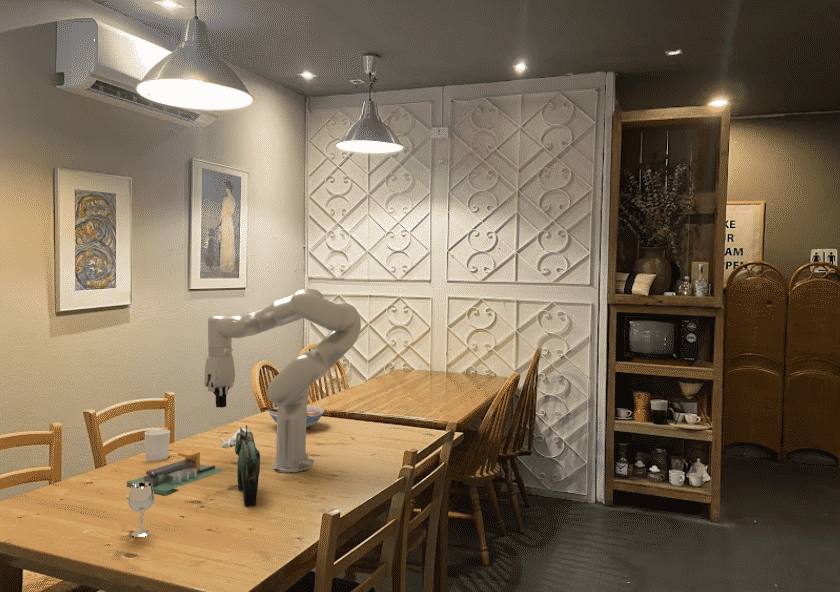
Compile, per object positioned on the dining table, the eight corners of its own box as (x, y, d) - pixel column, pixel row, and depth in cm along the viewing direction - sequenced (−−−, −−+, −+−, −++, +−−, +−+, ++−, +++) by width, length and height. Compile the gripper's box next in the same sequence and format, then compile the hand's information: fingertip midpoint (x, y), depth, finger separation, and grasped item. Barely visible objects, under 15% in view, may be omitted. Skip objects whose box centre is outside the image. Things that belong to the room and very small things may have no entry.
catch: (199, 471, 203) (199, 452, 203) (189, 474, 199) (189, 455, 199) (188, 468, 205) (188, 449, 205) (177, 472, 201) (177, 453, 201)
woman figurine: (260, 427, 251) (237, 441, 233) (260, 438, 251) (237, 453, 234) (233, 425, 253) (208, 439, 236) (233, 436, 254) (208, 450, 236)
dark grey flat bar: (195, 463, 202) (195, 460, 202) (154, 476, 188) (154, 473, 188) (186, 462, 204) (187, 459, 204) (145, 474, 190) (145, 471, 190)
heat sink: (199, 476, 198) (199, 469, 198) (163, 489, 186) (163, 480, 186) (170, 470, 203) (170, 462, 203) (133, 482, 191) (134, 473, 191)
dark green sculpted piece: (233, 486, 194) (234, 419, 193) (255, 484, 196) (256, 418, 195) (239, 509, 175) (240, 435, 175) (263, 506, 177) (265, 434, 177)
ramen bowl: (337, 427, 272) (337, 408, 272) (300, 438, 252) (300, 417, 252) (293, 419, 285) (293, 400, 285) (254, 428, 266) (254, 409, 265)
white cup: (160, 465, 212) (161, 435, 212) (139, 463, 214) (139, 433, 214) (174, 459, 220) (174, 430, 220) (153, 457, 222) (153, 428, 221)
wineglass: (133, 529, 159) (133, 481, 159) (157, 529, 160) (157, 481, 160) (124, 538, 154) (124, 488, 153) (149, 538, 154) (149, 488, 154)
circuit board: (226, 473, 205) (226, 467, 205) (164, 495, 184) (165, 488, 184) (189, 465, 213) (189, 459, 213) (126, 485, 191) (126, 479, 191)
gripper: (227, 349, 225) (228, 402, 225) (195, 354, 212) (196, 410, 212) (244, 350, 222) (245, 403, 222) (212, 355, 208) (213, 412, 209)
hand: (221, 406), depth 217 cm, fingers closed
